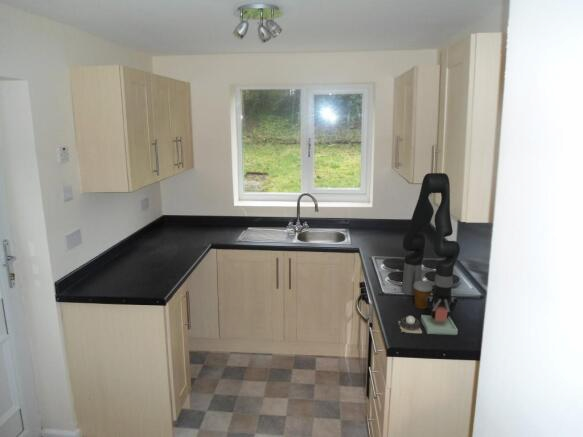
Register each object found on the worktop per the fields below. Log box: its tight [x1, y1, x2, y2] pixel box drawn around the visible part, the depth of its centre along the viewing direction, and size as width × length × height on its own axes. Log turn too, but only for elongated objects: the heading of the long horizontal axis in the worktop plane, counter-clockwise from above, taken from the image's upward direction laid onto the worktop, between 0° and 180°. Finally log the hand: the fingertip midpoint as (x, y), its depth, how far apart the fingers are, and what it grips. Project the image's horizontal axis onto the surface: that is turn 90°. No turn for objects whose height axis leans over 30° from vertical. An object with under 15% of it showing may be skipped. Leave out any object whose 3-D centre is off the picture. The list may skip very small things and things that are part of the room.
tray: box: [420, 314, 458, 336], centre depth 207 cm, size 13×13×3 cm
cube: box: [434, 305, 448, 322], centre depth 205 cm, size 5×5×5 cm
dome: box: [405, 315, 416, 324], centre depth 205 cm, size 4×4×4 cm
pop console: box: [397, 316, 423, 334], centre depth 205 cm, size 9×9×4 cm
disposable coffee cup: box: [413, 280, 434, 310], centre depth 227 cm, size 10×10×12 cm
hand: (439, 317), depth 206 cm, fingers closed on cube, 5 cm apart
